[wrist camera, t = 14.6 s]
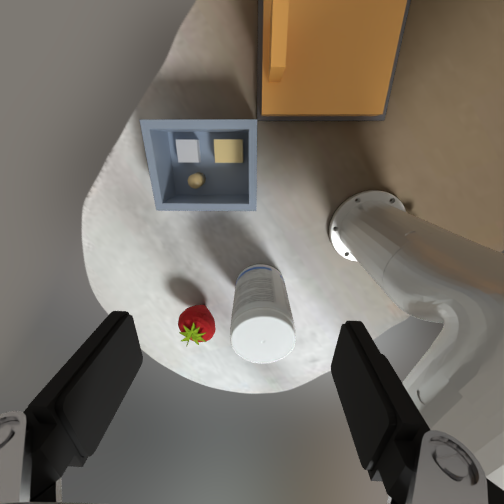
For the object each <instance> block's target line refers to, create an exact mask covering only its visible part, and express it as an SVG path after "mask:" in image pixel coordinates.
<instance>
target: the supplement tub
mask: <svg viewBox="0 0 504 504" xmlns="http://www.w3.org/2000/svg"><path fill="white" fill-rule="evenodd" d="M230 335H231V338H230V339H231V345H232V348H233V350H234V351H235V352H236V353H237V354H238V355H239V356H240V357H241V358H243V359H245V360H247V361H250V362H254V363H272V362H276V361H278V360H281V359H283V358H284V357H286V356H287V355H288V354H289V353H290V352H291V351H292V350H293V348H294V346H295V342H296V335H295V326H294V321H293V317H292V313H291V308H290V304H289V300H288V295H287V291H286V287H285V282H284V279H283V277H282V275H281V273H280V272H279V271H278V270H277V269H275V268H273V267H271V266H268V265H263V264H256V265H252V266H249V267H247V268H246V269H244V270H243V271H242V272H241V273H240V274H239V276H238V278H237V281H236V287H235V295H234V303H233V311H232V319H231V328H230Z"/></svg>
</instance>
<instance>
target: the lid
mask: <svg viewBox="0 0 504 504" xmlns="http://www.w3.org/2000/svg"><path fill="white" fill-rule="evenodd" d="M406 3H407V0H263V59H262V116H378V115H381V114H383V110H384V106H385V101H386V96H387V92H388V87H389V82H390V78H391V73H392V68H393V64H394V59H395V54H396V50H397V45H398V40H399V36H400V31H401V26H402V22H403V17H404V12H405V8H406Z"/></svg>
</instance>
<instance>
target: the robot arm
mask: <svg viewBox="0 0 504 504" xmlns="http://www.w3.org/2000/svg"><path fill="white" fill-rule="evenodd" d="M356 198H357V200H356V201H355V199H356ZM390 199H391V200H390ZM333 227H335V228H333ZM329 237H330V241H331V243H332V246H333V247H334V249H335V250H336V251H337V252H338V253H339V254H340V255H341V256H343V257H344V258H346V259H349V260H352V261H358V262H359V263H360V265H361V266H362V267H363V268H364V269H365V270H366V271H367V273H368V274H369V275H370V276H371V277H372V278H373V279H374V281H375V282H376V283H377V284H378V285H379V286H380V287H381V289H382V290H383V291H384V292H385V293H386V294H387V295H388V297H389V298H390V299H391V300H392V301H393V302H394V303H395V304H396V305H397V306H398V307H399V308H400V309H401V310H403V311H404V312H406V313H407V314H409V315H411V316H413V317H416V318H419V319H422V320H427V321H431V322H438V323H444V327H443V329H442V331H441V333H440V334H439V335H438V337H437V338H436V339H435V341H434V342H433V343H432V346H431V347H430V348H429V350H428V351H427V352H426V353H425V355H424V356H423V357H422V358H421V360H420V361H419V362H418V363H417V365H416V366H415V367H414V368H413V369H412V371H411V372H410V373H409V375H408V376H407V377H406V378H405V380H404V381H403V383H402V382H401V380H400V379H399V377H398V376H397V374H396V372H395V371H394V369H393V367H392V366H391V364H390V363H389V361H388V359H387V358H386V357H385V356H384V355H383V354H381V353H380V352H379V350H378V348H377V346H376V345H375V343H374V341H373V340H372V338H371V336H370V334H369V333H368V331H367V329H366V328H365V326H364V324H363V323H362V322H361V321H346V323H345V324H342V326H341V330H340V334H339V337H338V341H337V345H336V349H335V352H334V356H333V360H332V364H331V372H332V376H333V379H334V382H335V385H336V388H337V391H338V395H339V398H340V401H341V404H342V407H343V410H344V413H345V416H346V419H347V422H348V425H349V428H350V432H351V434H352V438H353V440H354V444H355V447H356V450H357V453H358V456H359V459H360V462H361V465H362V467H363V468H364V469H365V470H368V473H369V476H370V479H371V481H383V484H384V486H385V489H386V492H387V494H388V495H389V497H388V502H387V504H504V254H503V253H501V252H498V251H495V250H493V249H490V248H488V247H485V246H483V245H480V244H478V243H476V242H473V241H471V240H469V239H466V238H464V237H462V236H459V235H457V234H455V233H452V232H450V231H448V230H445V229H443V228H441V227H439V226H436V225H434V224H432V223H430V222H427V221H425V220H423V219H420V218H418V217H416V216H414V215H411V214H409V213H407V212H406V210H405V207H404V205H403V204H402V202H401V201H400V200H399V199H398V198H397V197H395V196H394V195H392V194H390V193H387V192H384V191H380V190H369V191H363V192H360V193H358V194H355V195H353V196H352V197H350V198H348V199H347V200H346V201H345V202H343V203H342V204H341V205H340V206H339V208H338V209H337V210H336V212H335V213H334V215H333V217H332V219H331V222H330V227H329ZM345 252H346V253H345ZM142 360H143V356H142V352H141V348H140V344H139V340H138V336H137V332H136V328H135V324H134V320H133V317H132V315H129V313H128V312H126V311H113V312H111V313H110V314H109V315H108V317H107V318H106V319H105V320H104V321H103V322H102V323H101V324H100V326H99V327H98V328H97V329H96V330H95V331H94V332H93V333H92V335H91V336H90V337H89V338H88V339H87V340H86V341H85V342H84V344H83V345H82V346H81V347H80V348H79V349H78V350H77V352H75V354H74V355H73V356H72V357H71V358H70V359H69V360H68V361H67V363H66V364H65V365H64V366H63V367H62V368H61V369H60V370H59V372H58V373H57V374H56V375H55V376H54V377H53V378H52V380H51V381H50V382H49V383H48V384H47V385H46V386H45V387H44V388H43V390H42V391H41V392H40V393H39V394H38V395H37V396H36V397H35V399H34V400H33V401H32V402H31V403H30V404H29V406H28V408H27V409H26V410H25V411H24V412H20V411H11V412H6V413H4V414H1V415H0V504H93V503H62V481H61V477H62V475H63V473H64V472H65V470H66V468H67V467H68V466H76V467H83V465H84V463H85V461H86V460H87V458H88V456H91V455H92V454H93V453H94V452H95V450H96V449H97V447H98V445H99V443H100V441H101V439H102V438H103V436H104V434H105V432H106V430H107V428H108V426H109V424H110V423H111V421H112V419H113V417H114V415H115V413H116V411H117V409H118V408H119V406H120V404H121V402H122V400H123V398H124V396H125V395H126V393H127V391H128V389H129V387H130V385H131V383H132V381H133V380H134V378H135V376H136V374H137V372H138V370H139V368H140V367H141V364H142Z"/></svg>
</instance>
